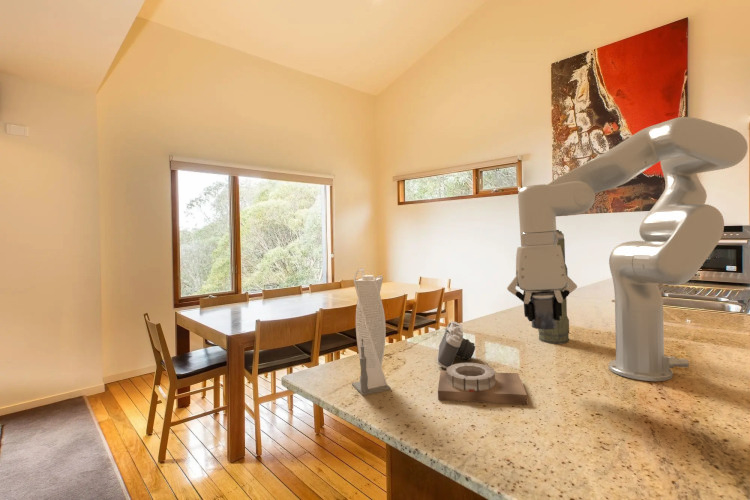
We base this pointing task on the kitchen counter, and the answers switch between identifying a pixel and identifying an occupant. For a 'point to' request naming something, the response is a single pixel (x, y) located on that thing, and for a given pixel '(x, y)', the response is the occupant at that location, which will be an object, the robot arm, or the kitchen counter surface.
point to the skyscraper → (370, 334)
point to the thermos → (562, 326)
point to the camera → (454, 346)
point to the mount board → (492, 395)
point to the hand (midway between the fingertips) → (543, 318)
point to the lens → (543, 309)
